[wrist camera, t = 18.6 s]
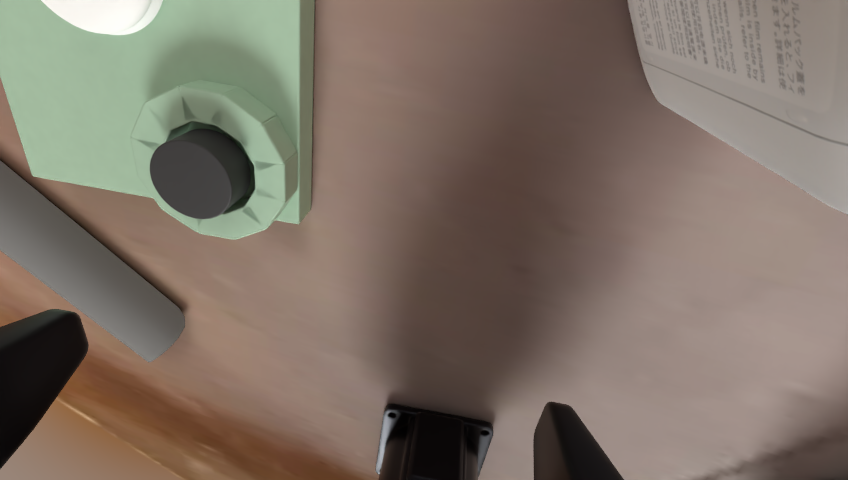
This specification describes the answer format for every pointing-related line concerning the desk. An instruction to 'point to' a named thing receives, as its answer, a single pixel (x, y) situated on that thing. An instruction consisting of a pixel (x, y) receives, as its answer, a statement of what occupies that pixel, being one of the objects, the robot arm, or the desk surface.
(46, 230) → the gray half cylinder
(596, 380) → the desk surface
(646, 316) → the desk surface
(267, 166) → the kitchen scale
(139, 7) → the chess piece
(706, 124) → the white rounded block
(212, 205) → the button
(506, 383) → the desk surface
